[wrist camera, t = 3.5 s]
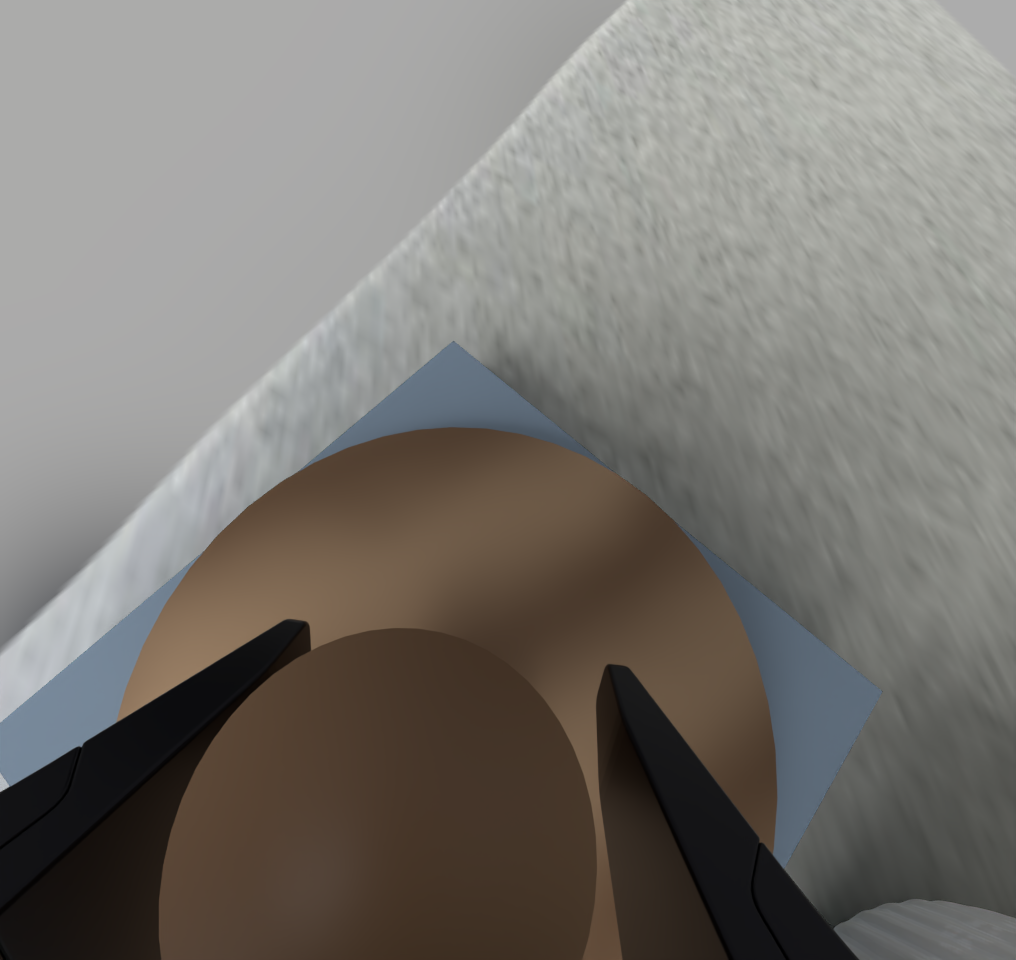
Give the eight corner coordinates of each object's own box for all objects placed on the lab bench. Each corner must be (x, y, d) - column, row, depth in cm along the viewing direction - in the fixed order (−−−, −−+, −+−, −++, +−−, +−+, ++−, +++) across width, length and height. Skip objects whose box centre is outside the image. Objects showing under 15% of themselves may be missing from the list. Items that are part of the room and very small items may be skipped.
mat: (814, 686, 16) (882, 691, 14) (466, 1258, 12) (460, 1450, 9) (457, 385, 20) (453, 340, 17) (73, 726, 15) (-22, 741, 12)
